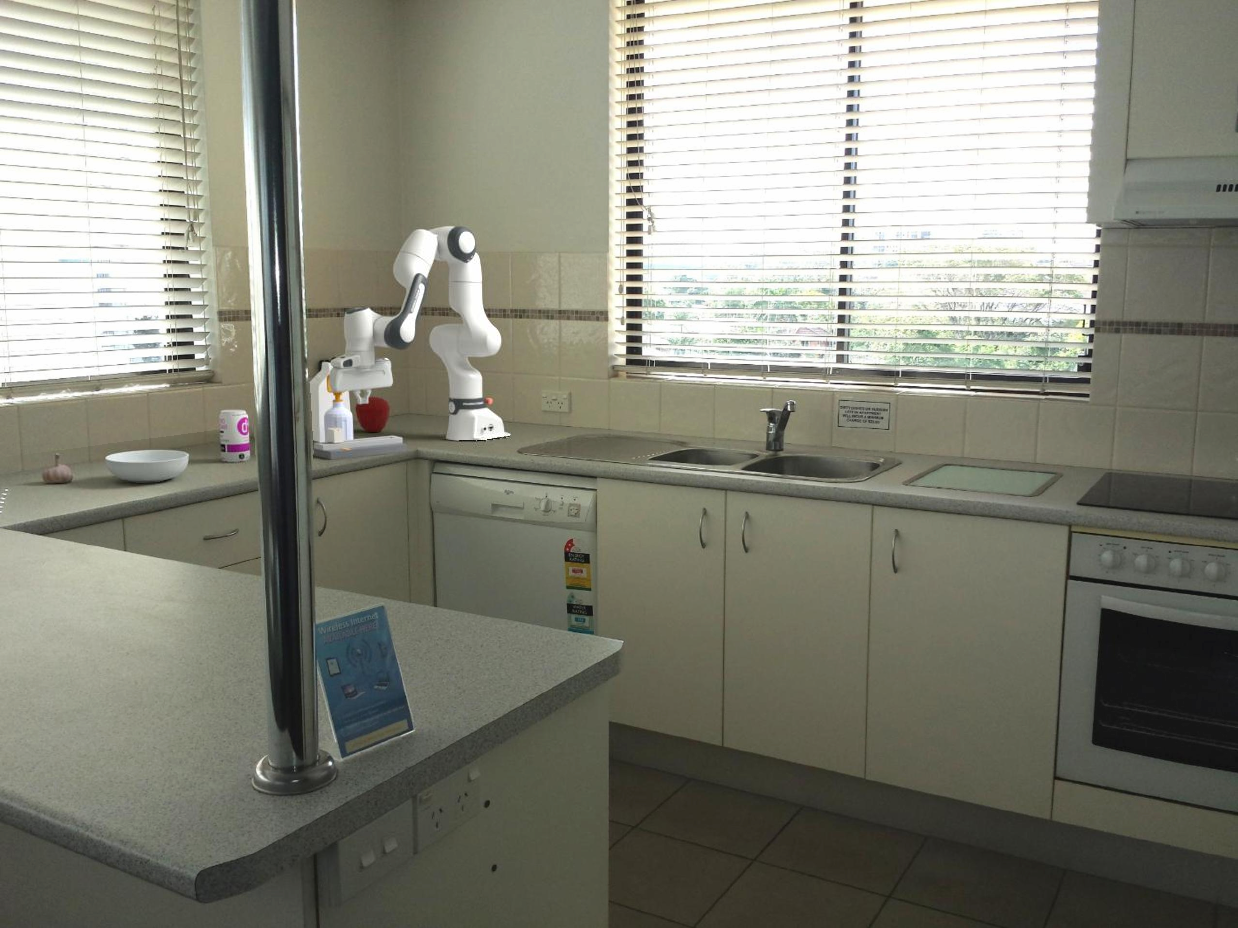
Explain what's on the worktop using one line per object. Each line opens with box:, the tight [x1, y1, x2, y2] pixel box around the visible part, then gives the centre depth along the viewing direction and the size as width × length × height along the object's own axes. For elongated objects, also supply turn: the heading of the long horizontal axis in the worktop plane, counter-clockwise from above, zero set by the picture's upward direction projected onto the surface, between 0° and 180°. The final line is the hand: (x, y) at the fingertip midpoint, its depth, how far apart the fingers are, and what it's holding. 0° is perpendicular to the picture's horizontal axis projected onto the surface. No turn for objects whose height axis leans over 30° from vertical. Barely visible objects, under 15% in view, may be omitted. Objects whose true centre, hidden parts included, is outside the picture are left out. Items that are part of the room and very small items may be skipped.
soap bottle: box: [324, 374, 354, 442], centre depth 370 cm, size 9×9×25 cm
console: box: [312, 435, 408, 460], centre depth 355 cm, size 27×14×4 cm, turn 130°
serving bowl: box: [104, 449, 190, 484], centre depth 305 cm, size 21×21×7 cm
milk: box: [309, 361, 351, 443], centre depth 384 cm, size 12×12×26 cm
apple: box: [354, 394, 391, 433], centre depth 403 cm, size 12×12×13 cm
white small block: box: [327, 428, 344, 444], centre depth 349 cm, size 3×5×6 cm, turn 40°
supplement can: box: [218, 409, 251, 463], centre depth 338 cm, size 8×8×15 cm
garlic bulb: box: [41, 453, 74, 484], centre depth 301 cm, size 8×7×8 cm
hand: (362, 403), depth 354 cm, fingers closed
